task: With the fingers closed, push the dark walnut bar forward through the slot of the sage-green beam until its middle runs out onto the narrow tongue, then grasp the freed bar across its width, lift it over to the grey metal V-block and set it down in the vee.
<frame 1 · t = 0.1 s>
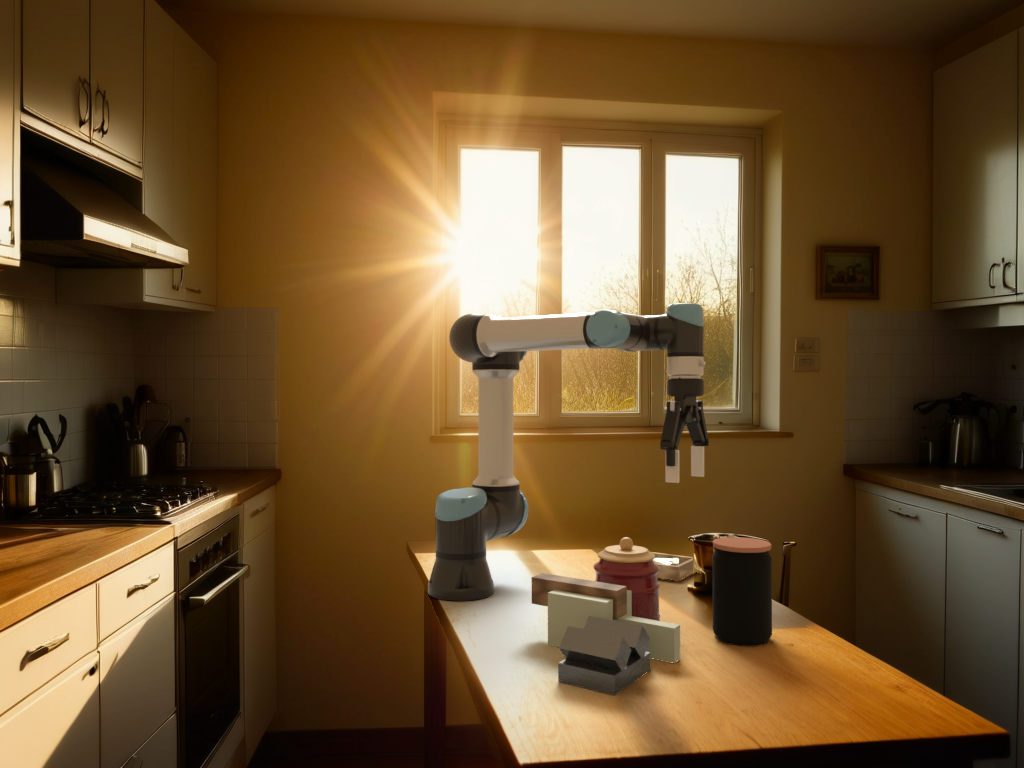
hand: (685, 479, 163), 28 cm above the table, tool pointing down, fingers open, 13 cm apart
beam: (589, 643, 143), on the table
coffee jar: (742, 639, 147), on the table
bar: (578, 608, 145), point 6 cm above the table, touching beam
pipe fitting: (662, 574, 200), on the table
canister: (626, 628, 154), on the table
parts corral: (662, 572, 200), on the table
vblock: (605, 675, 127), on the table
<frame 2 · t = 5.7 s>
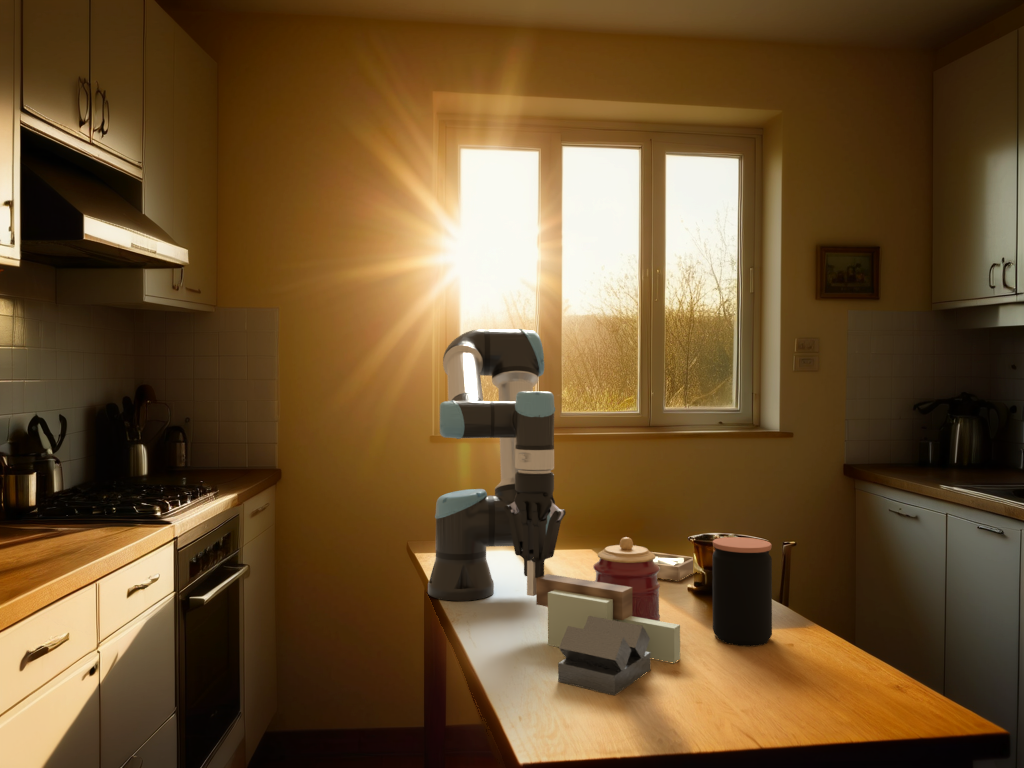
hand: (533, 594, 150), 7 cm above the table, tool pointing down, fingers closed
bar: (583, 609, 144), point 6 cm above the table, touching gripper
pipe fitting: (667, 574, 200), on the table
everything else where it was.
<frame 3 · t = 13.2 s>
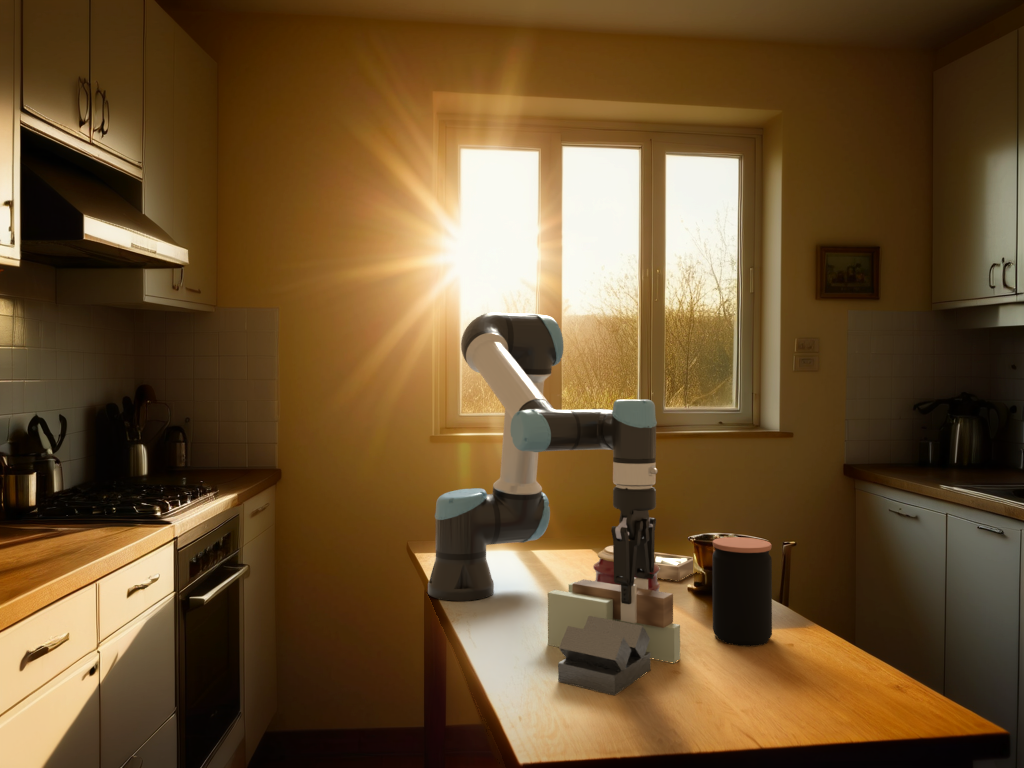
hand: (634, 617, 138), 6 cm above the table, tool pointing down, fingers closed on bar, 4 cm apart
bar: (621, 616, 140), point 6 cm above the table, touching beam, gripper
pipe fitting: (670, 574, 200), on the table, touching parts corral
everything else where it was.
when the fingers open (9 cm above the table, at t = 17.9 s): bar drops 2 cm, resting on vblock.
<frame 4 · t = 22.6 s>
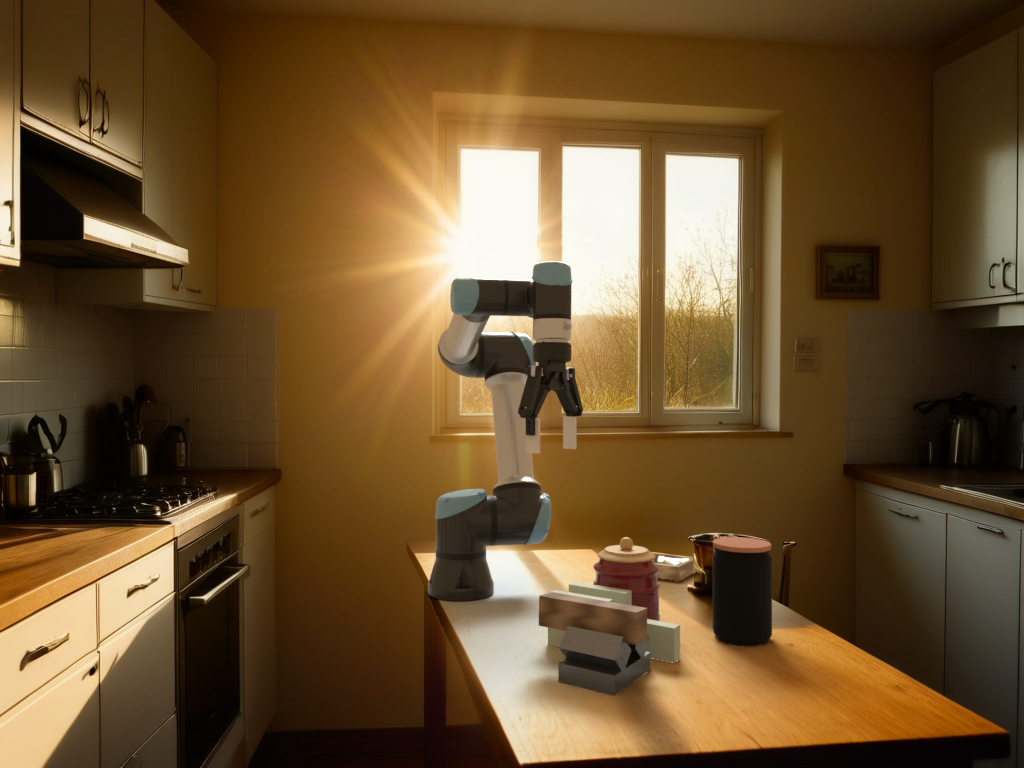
hand: (552, 451, 152), 35 cm above the table, tool pointing down, fingers open, 13 cm apart
bar: (591, 632, 128), point 7 cm above the table, touching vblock
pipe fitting: (672, 574, 200), on the table
everything else where it was.
at the end: bar inside the target area on the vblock (2.5 cm from its centre), point 6.6 cm above the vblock's base; bar touching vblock; the gripper is holding nothing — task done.
